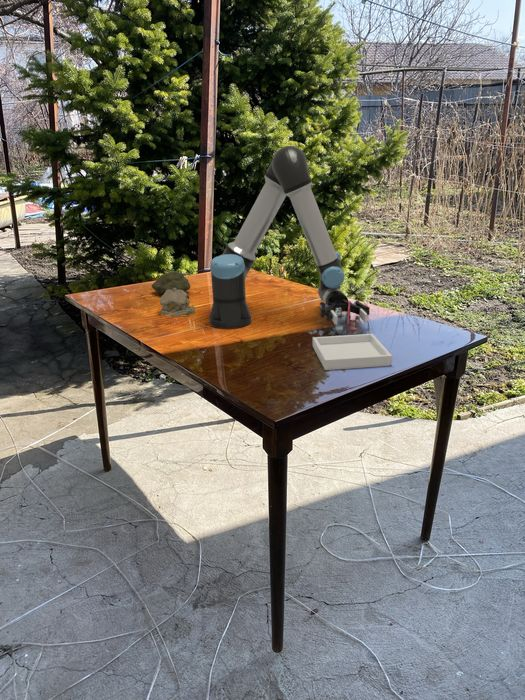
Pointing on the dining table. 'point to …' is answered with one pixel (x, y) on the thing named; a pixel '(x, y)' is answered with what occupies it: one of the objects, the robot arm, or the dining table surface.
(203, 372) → the dining table surface
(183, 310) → the ceramic model
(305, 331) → the dining table surface
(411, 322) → the dining table surface
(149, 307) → the dining table surface
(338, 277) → the robot arm
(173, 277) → the decorative rock
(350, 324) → the brake caliper
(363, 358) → the tray
